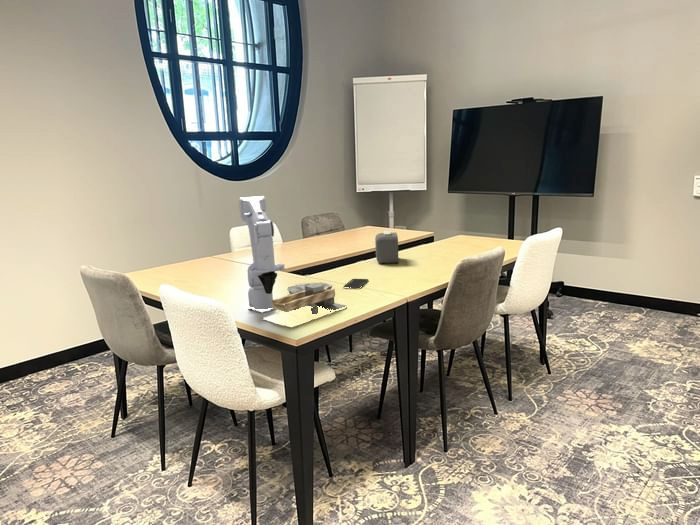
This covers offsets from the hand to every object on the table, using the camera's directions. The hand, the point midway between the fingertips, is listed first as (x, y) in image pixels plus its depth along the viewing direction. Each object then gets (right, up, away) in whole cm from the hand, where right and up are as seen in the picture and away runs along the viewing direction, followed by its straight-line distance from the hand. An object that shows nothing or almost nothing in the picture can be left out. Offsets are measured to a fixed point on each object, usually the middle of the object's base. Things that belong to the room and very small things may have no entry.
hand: (268, 293), depth 185 cm
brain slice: (+11, -3, +37) cm, 38 cm away
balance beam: (+12, -7, +8) cm, 16 cm away
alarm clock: (+48, +11, +94) cm, 106 cm away
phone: (+32, +1, +48) cm, 58 cm away
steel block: (+16, -2, +11) cm, 19 cm away
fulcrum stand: (+12, -8, +9) cm, 17 cm away
